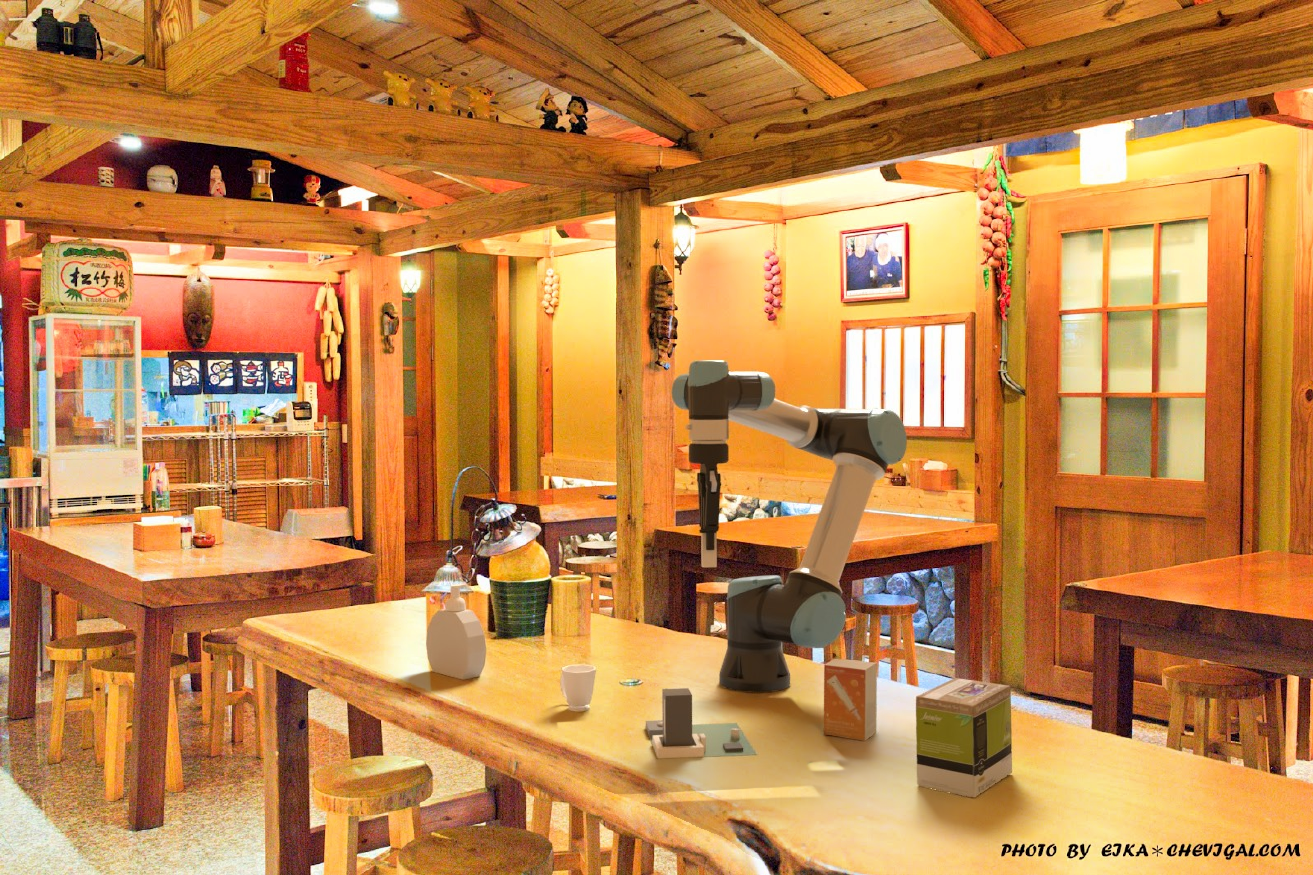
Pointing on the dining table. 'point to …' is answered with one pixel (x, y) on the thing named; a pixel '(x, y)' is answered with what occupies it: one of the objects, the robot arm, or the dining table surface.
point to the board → (722, 740)
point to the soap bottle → (456, 640)
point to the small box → (850, 698)
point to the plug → (677, 717)
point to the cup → (578, 686)
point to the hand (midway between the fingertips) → (709, 566)
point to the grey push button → (654, 727)
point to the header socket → (680, 747)
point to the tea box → (963, 736)
